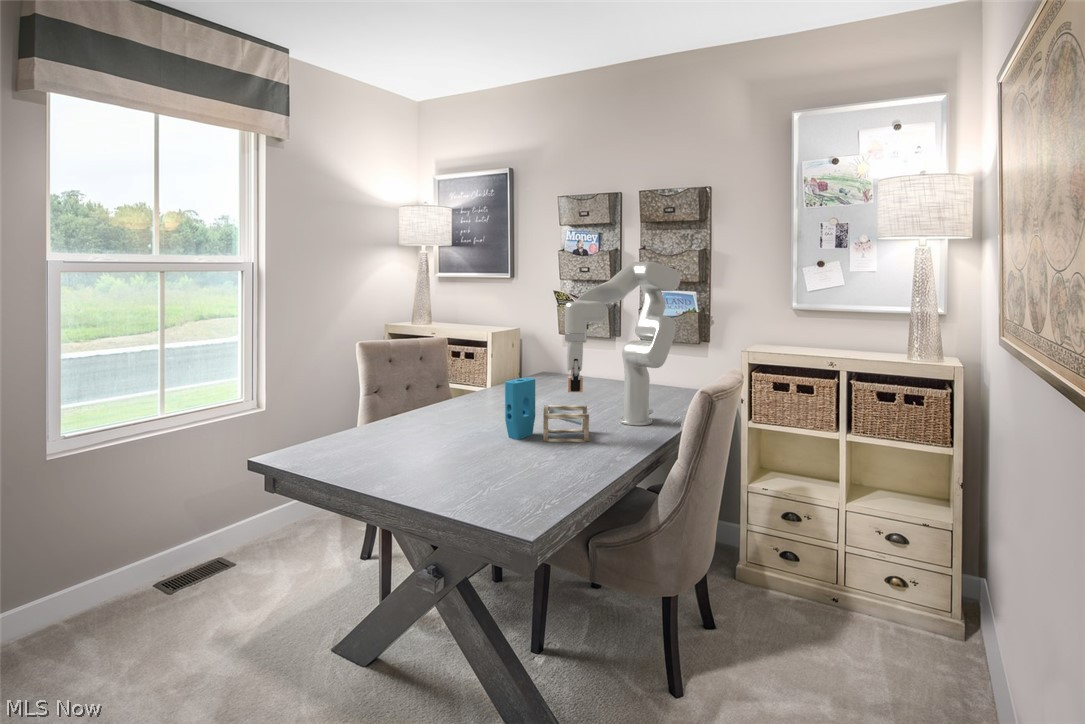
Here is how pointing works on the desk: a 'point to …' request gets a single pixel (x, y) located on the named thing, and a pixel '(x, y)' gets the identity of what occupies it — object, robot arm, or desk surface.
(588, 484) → the desk surface
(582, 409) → the frame
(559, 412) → the trapdoor plate
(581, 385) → the terracotta block
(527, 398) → the block
